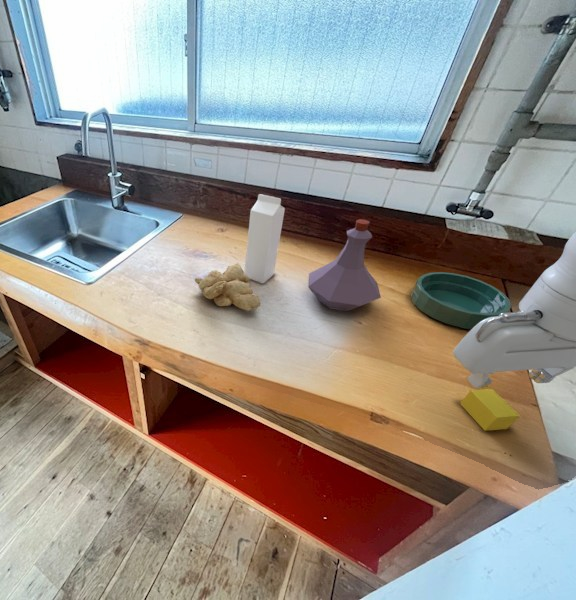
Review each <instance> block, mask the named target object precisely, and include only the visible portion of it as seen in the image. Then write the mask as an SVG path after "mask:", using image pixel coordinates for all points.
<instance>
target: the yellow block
mask: <svg viewBox="0 0 576 600" xmlns="http://www.w3.org/2000/svg"><path fill="white" fill-rule="evenodd" d="M459 404H460V406H461V407H462V408H463V409H464V410H465V412H467V413H468V414H469V416H470V417H472V419H474V421H475V422H476V423H477V424H478V425H479V426H480V427H481V429H482V430H484V432H485V431H486V432H487V431H498V430H508V429H509V428H510V427H511V425H512V424H514V423H515V422H516V420H518V419H519V418H520V417H521V415H520V414H519V413H518V412H517V411H516V410H515V409H514V408H513V407H512V406H511V405H510V404H509V403H507V401H506V400H504V399H503V397H501V396H500V395H499V394H498V393H497V392H496V391H495V390H494V389H492V388H485V389H483V388H482V389H473V390H469V391H468V392H467V394H466V395H465V396H464V398H463V399H462V400H461V401H460V403H459Z"/></svg>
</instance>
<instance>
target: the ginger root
mask: <svg viewBox="0 0 576 600" xmlns="http://www.w3.org/2000/svg"><path fill="white" fill-rule="evenodd" d="M250 281H251V279H249V277H248V276H247V275H246V274H244V270H243V268H242V266H241V264H240V263H235V264H232V265H228V266H227V267H226V269H225V271H223V272H220V271H218V270H217V269H216V270H211V271H210V272H209V273H208V274H207V275H205V277H204V278H202V277H201V278H200V277H195V278H194V282H195V283H196V284H197V286H198V288H199V289H200V290H201V291H200V292H201V294H202V295H203V297H205V298H206V299H208V300H212V299H213V302H214V303H215V305H216V306H219V307H228V306H231V305H232V304H233V305H234V306H235V307H237V308H239V309H240V310H244V311H245V312H251V311H252V310H256V309H258V308H259V307H261V303H262V302H261V296H260V295H259V294H254V290H253V289H252V286H251V284H249V283H250Z"/></svg>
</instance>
